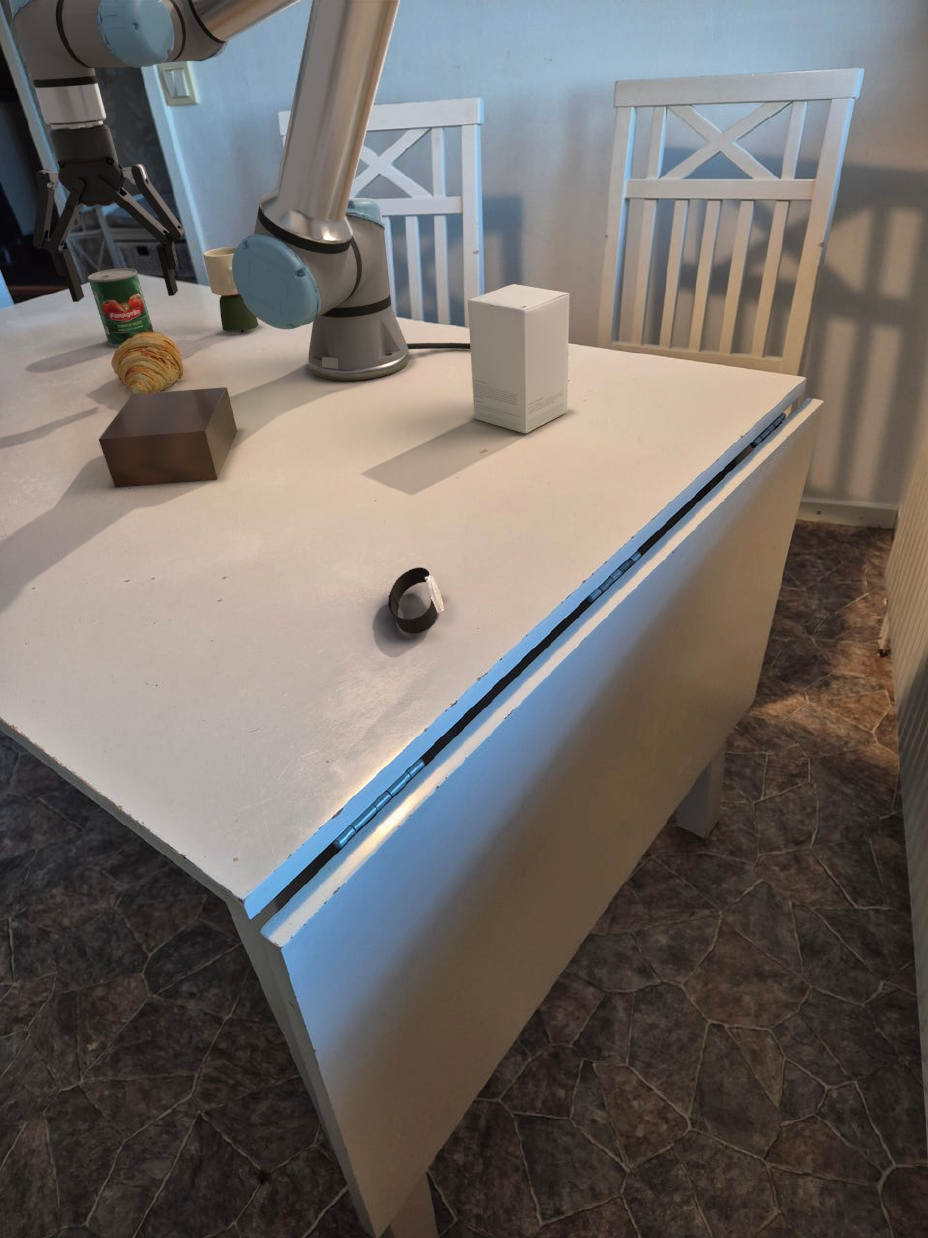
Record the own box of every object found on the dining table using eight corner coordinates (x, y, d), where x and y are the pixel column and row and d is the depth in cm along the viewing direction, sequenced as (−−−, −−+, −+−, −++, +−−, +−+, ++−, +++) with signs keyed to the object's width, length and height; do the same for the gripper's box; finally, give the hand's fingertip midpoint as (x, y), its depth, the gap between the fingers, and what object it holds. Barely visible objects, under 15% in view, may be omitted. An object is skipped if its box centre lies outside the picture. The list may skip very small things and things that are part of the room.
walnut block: (237, 431, 106) (227, 386, 102) (217, 479, 95) (205, 431, 91) (145, 438, 106) (132, 393, 102) (114, 487, 94) (98, 439, 91)
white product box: (570, 412, 105) (573, 291, 96) (525, 435, 100) (524, 310, 91) (516, 397, 110) (514, 281, 101) (471, 418, 105) (465, 298, 96)
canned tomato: (137, 330, 146) (118, 266, 140) (164, 336, 142) (146, 270, 136) (99, 343, 141) (77, 276, 135) (126, 349, 137) (105, 281, 131)
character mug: (267, 334, 140) (251, 254, 132) (225, 341, 138) (207, 260, 130) (256, 319, 148) (240, 242, 140) (216, 325, 146) (198, 248, 138)
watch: (446, 636, 68) (443, 601, 66) (390, 642, 67) (385, 606, 65) (441, 586, 74) (438, 552, 72) (389, 590, 74) (385, 556, 72)
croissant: (170, 423, 118) (184, 373, 114) (97, 400, 114) (108, 347, 110) (181, 373, 135) (194, 327, 131) (118, 351, 131) (128, 303, 127)
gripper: (181, 116, 108) (217, 283, 120) (-8, 127, 107) (48, 294, 120) (168, 121, 102) (207, 297, 114) (-33, 133, 101) (29, 309, 114)
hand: (126, 296), depth 117 cm, fingers open, 13 cm apart
